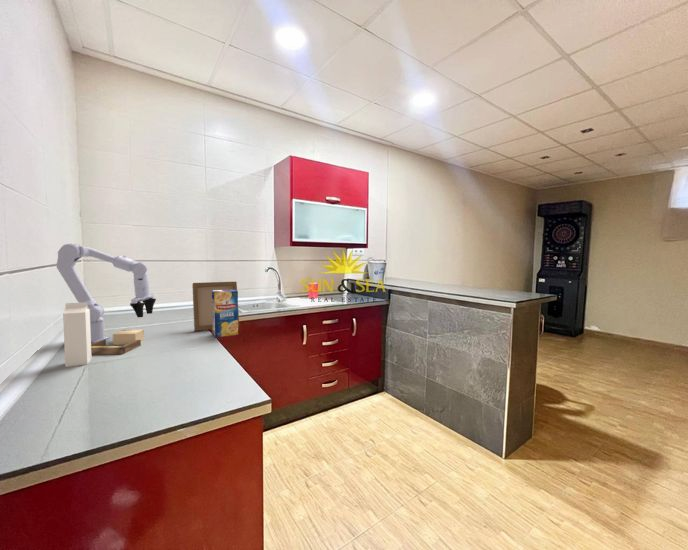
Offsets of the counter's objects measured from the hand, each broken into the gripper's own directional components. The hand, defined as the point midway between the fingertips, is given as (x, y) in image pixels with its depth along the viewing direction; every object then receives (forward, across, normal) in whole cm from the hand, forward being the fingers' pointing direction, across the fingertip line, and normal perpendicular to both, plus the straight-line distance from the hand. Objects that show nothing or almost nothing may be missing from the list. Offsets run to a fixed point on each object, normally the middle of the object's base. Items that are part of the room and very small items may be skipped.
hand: (145, 315), depth 144 cm
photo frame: (+12, +16, -27) cm, 34 cm away
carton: (+10, -12, +1) cm, 15 cm away
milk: (+9, -38, +2) cm, 39 cm away
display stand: (+9, -22, +1) cm, 24 cm away
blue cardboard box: (+12, +1, -37) cm, 39 cm away
